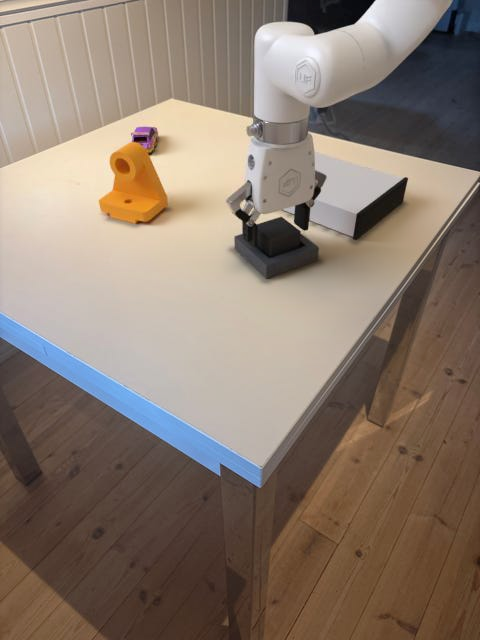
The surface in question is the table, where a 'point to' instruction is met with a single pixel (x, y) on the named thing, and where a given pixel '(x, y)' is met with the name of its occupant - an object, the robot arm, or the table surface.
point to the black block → (277, 237)
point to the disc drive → (353, 196)
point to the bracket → (133, 186)
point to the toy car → (146, 137)
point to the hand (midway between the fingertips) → (276, 234)
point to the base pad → (277, 257)
